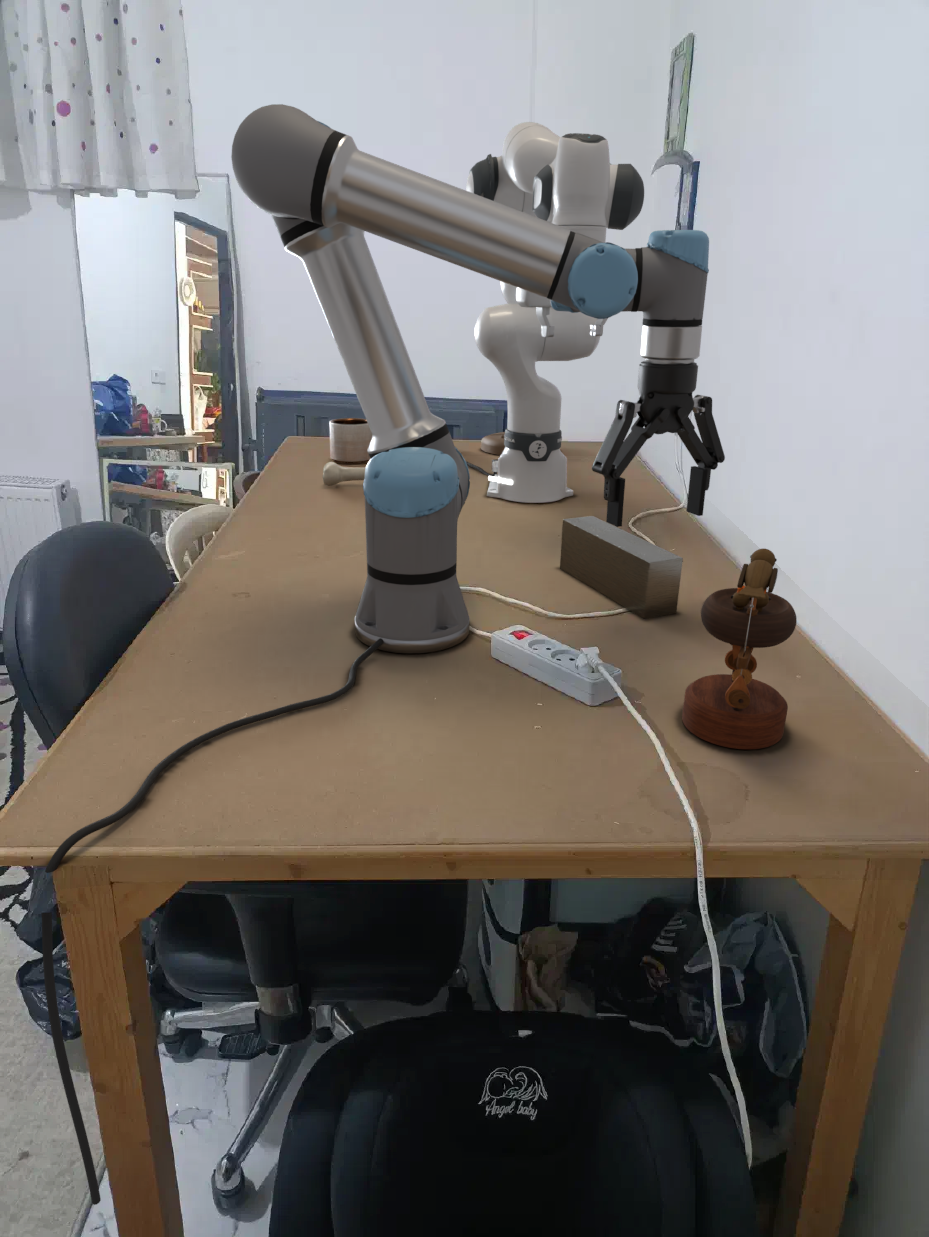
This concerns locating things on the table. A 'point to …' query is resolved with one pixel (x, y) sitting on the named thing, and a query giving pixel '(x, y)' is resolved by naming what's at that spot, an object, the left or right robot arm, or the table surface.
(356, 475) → the dog toy
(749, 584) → the music box
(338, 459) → the planter
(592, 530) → the bar
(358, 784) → the table surface
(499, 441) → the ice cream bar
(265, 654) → the table surface
